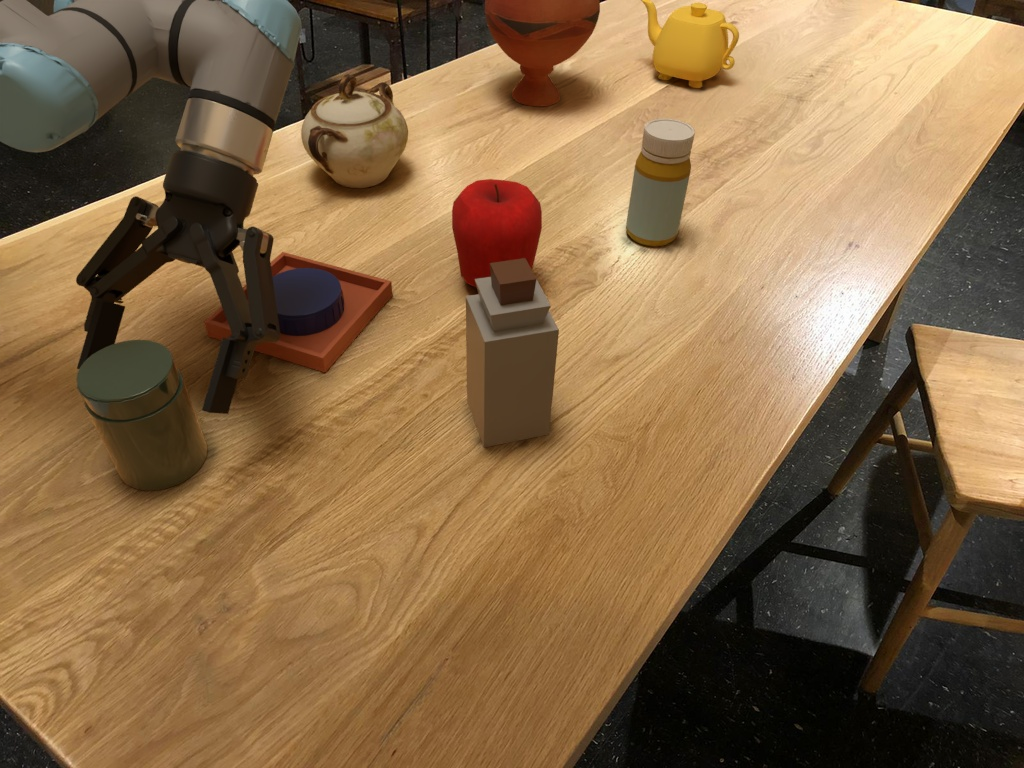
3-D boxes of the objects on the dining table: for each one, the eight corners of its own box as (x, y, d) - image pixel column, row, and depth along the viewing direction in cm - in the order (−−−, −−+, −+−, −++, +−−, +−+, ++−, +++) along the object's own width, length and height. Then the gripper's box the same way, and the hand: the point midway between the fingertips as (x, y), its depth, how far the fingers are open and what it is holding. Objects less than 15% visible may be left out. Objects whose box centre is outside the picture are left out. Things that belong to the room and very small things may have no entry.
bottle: (662, 217, 107) (681, 114, 97) (685, 244, 102) (708, 138, 92) (617, 225, 106) (631, 120, 95) (638, 252, 101) (656, 145, 90)
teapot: (716, 98, 138) (732, 24, 129) (616, 73, 145) (625, 1, 137) (741, 74, 147) (757, 3, 138) (646, 52, 154) (656, -17, 145)
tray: (207, 336, 86) (203, 321, 84) (285, 265, 96) (282, 251, 95) (325, 372, 82) (322, 358, 80) (392, 295, 92) (391, 281, 91)
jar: (99, 475, 71) (51, 384, 63) (158, 418, 76) (121, 328, 68) (169, 501, 69) (129, 412, 61) (224, 441, 74) (194, 352, 66)
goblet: (565, 129, 127) (579, -37, 110) (463, 105, 133) (461, -56, 116) (605, 89, 140) (623, -65, 123) (510, 68, 145) (515, -82, 128)
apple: (472, 316, 90) (472, 215, 80) (441, 270, 96) (437, 171, 87) (552, 295, 93) (560, 196, 84) (516, 252, 100) (520, 155, 91)
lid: (359, 316, 88) (356, 296, 86) (285, 346, 84) (280, 326, 82) (321, 278, 93) (317, 258, 91) (250, 305, 89) (244, 285, 87)
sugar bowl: (365, 218, 105) (353, 112, 95) (277, 192, 109) (256, 87, 99) (436, 158, 118) (432, 60, 108) (355, 137, 122) (343, 40, 112)
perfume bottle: (549, 434, 76) (562, 287, 64) (483, 447, 75) (485, 299, 62) (528, 389, 81) (538, 244, 69) (467, 400, 79) (465, 254, 67)
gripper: (358, 205, 69) (293, 431, 69) (135, 151, 75) (75, 359, 75) (318, 177, 62) (245, 430, 62) (74, 121, 68) (8, 350, 68)
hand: (151, 391), depth 68 cm, fingers open, 13 cm apart
